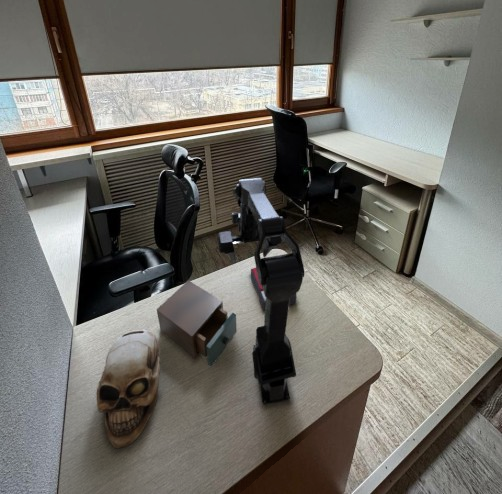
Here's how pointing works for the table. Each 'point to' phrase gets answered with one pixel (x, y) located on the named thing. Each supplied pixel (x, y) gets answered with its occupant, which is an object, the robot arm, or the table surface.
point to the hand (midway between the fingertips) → (249, 258)
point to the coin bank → (129, 385)
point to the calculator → (261, 292)
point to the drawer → (215, 335)
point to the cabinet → (187, 315)
